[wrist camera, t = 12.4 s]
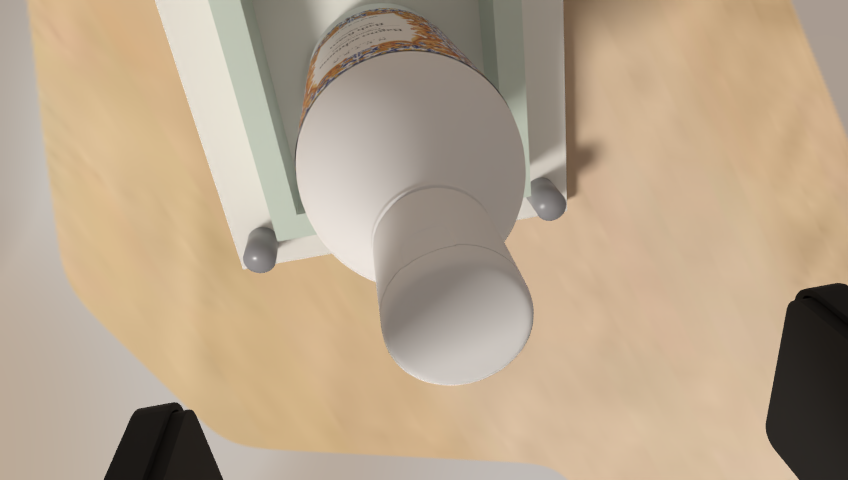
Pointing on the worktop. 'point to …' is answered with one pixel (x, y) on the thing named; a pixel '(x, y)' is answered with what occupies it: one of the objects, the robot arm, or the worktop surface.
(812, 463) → the robot arm
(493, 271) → the bath foam
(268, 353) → the worktop surface
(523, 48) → the dock
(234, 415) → the worktop surface
